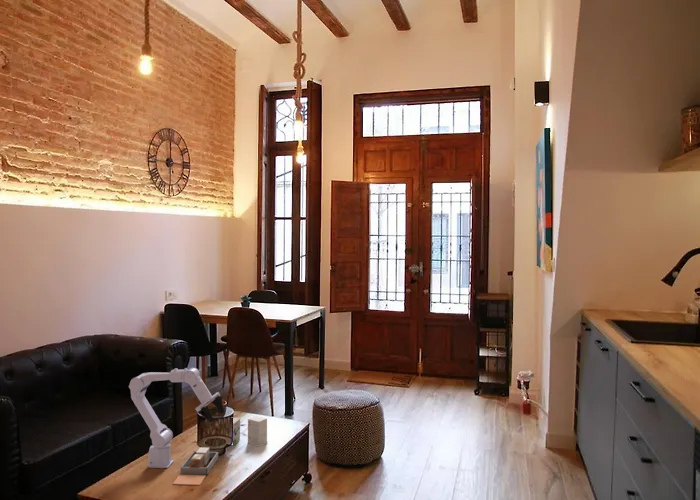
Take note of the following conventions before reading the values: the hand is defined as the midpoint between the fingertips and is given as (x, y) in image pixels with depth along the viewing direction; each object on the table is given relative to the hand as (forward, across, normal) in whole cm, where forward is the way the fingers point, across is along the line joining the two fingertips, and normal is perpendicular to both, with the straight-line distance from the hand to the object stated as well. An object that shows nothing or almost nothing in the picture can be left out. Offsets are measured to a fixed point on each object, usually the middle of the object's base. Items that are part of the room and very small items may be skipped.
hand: (217, 416), depth 253 cm
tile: (+16, -21, +12) cm, 29 cm away
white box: (+15, -4, +21) cm, 26 cm away
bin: (+15, -8, +19) cm, 26 cm away
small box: (+26, +26, +18) cm, 41 cm away
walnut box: (+16, -11, +17) cm, 26 cm away
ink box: (+19, +21, +27) cm, 39 cm away
